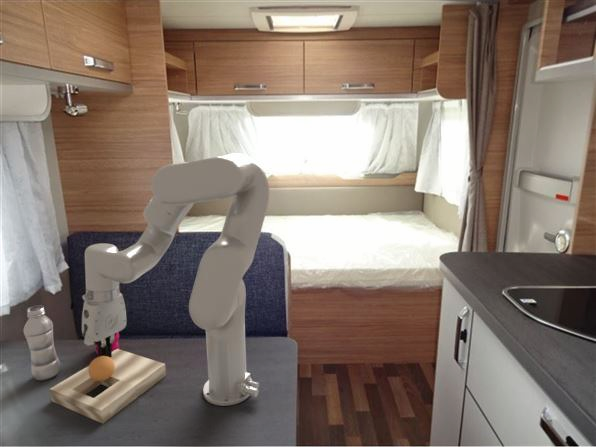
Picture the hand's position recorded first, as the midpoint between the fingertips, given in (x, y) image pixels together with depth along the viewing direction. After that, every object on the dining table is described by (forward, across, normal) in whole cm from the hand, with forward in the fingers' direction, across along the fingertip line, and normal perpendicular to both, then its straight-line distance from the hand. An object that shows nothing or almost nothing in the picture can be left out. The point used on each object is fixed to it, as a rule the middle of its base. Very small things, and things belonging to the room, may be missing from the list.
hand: (105, 356), depth 104 cm
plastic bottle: (+9, -6, +15) cm, 19 cm away
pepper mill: (+8, +10, +12) cm, 17 cm away
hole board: (+7, -2, -4) cm, 8 cm away
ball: (0, -3, -3) cm, 4 cm away
